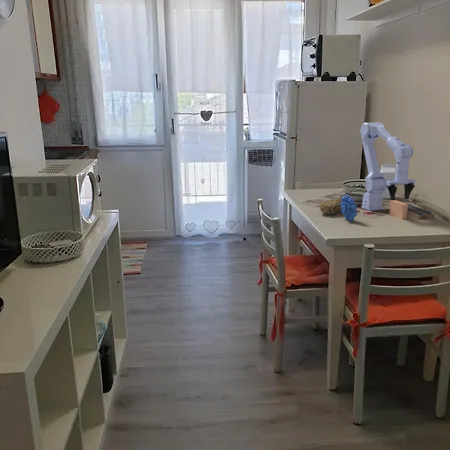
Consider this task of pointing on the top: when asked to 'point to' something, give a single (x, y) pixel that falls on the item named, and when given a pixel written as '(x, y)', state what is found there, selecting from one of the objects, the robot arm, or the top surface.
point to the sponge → (331, 206)
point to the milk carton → (388, 176)
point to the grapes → (348, 207)
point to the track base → (419, 212)
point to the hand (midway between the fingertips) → (399, 199)
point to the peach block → (398, 209)
